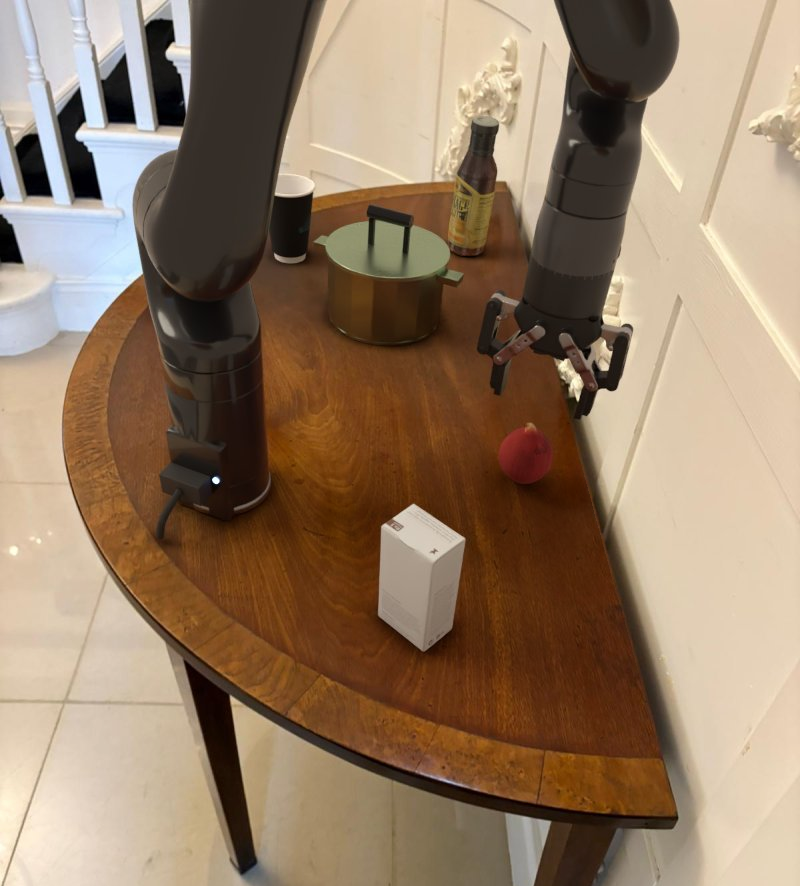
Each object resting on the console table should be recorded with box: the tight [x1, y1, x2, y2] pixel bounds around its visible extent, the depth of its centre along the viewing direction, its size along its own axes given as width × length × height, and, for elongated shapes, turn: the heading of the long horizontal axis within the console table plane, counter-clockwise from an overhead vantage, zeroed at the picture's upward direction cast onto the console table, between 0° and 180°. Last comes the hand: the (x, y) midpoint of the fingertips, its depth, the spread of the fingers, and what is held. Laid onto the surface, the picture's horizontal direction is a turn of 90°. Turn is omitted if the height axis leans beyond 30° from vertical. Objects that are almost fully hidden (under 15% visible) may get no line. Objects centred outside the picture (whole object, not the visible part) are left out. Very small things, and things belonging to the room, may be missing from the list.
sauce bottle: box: [447, 115, 500, 257], centre depth 121 cm, size 7×6×20 cm
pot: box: [313, 234, 465, 347], centre depth 108 cm, size 16×21×10 cm
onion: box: [498, 422, 554, 485], centre depth 85 cm, size 6×6×8 cm
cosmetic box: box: [377, 503, 466, 652], centre depth 68 cm, size 6×4×12 cm
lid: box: [324, 203, 451, 282], centre depth 103 cm, size 17×17×6 cm
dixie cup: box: [268, 173, 317, 264], centre depth 118 cm, size 8×8×11 cm
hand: (539, 403), depth 81 cm, fingers open, 8 cm apart
